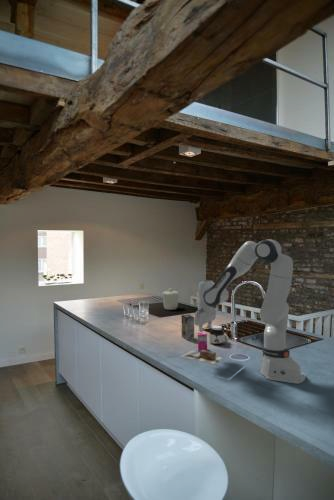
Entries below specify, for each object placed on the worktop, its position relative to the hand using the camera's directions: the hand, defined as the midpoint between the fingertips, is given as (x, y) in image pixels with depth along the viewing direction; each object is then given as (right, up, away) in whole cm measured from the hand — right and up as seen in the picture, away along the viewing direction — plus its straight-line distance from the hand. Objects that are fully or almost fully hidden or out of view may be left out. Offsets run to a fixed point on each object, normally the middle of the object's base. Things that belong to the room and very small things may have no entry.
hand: (205, 330), depth 204 cm
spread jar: (+13, -17, +32) cm, 38 cm away
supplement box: (0, -17, +14) cm, 22 cm away
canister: (-19, -13, +145) cm, 147 cm away
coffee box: (-8, -16, +44) cm, 47 cm away
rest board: (-2, -18, +2) cm, 18 cm away
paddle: (-2, -17, +2) cm, 17 cm away
